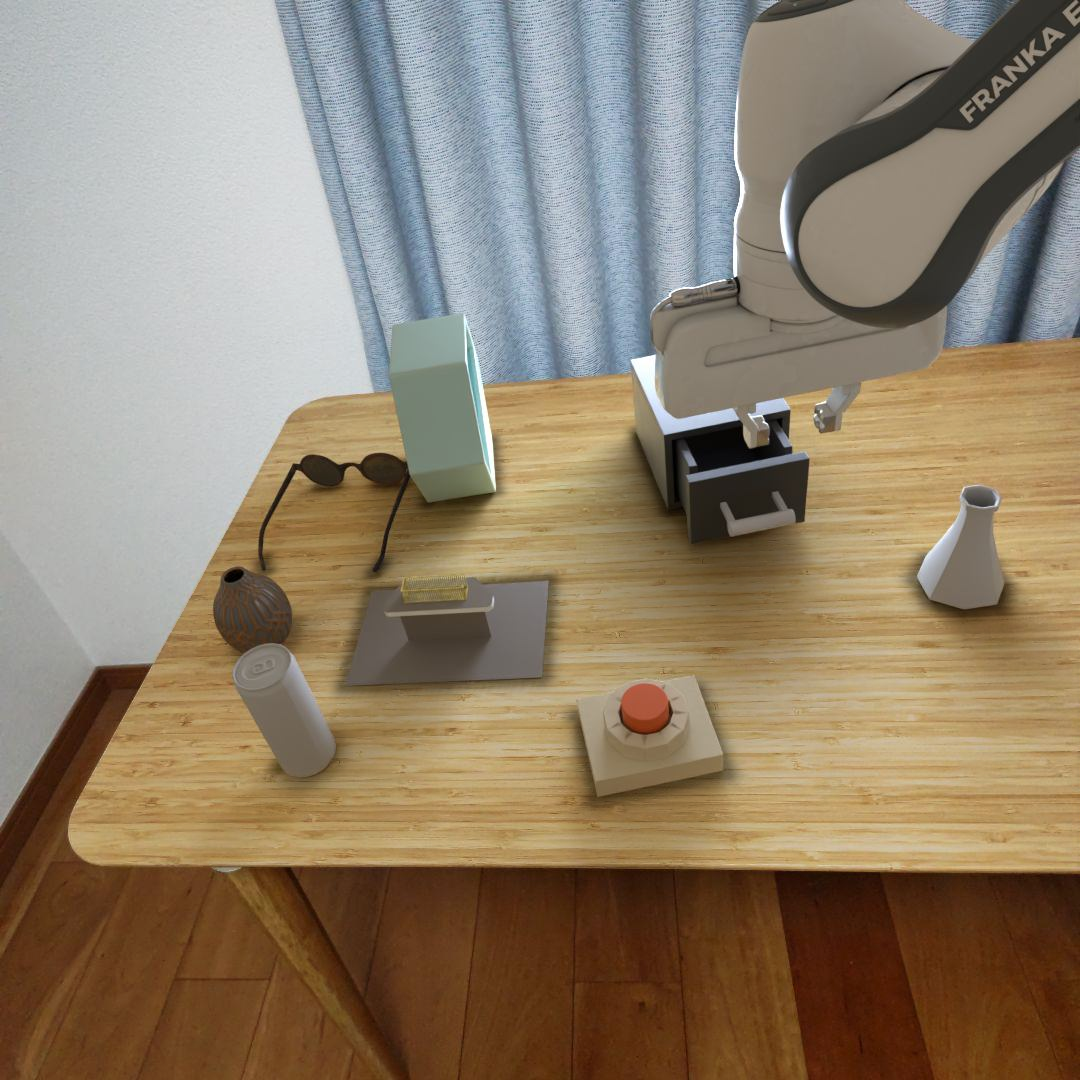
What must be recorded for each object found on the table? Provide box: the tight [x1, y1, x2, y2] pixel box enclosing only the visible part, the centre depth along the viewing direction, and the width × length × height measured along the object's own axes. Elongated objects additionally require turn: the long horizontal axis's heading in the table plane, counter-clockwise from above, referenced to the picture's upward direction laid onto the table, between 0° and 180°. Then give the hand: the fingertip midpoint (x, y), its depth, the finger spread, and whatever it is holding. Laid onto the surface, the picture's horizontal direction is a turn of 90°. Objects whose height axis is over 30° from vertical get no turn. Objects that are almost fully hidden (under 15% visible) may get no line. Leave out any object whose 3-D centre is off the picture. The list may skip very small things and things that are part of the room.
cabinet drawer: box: [672, 419, 811, 545], centre depth 88 cm, size 18×11×8 cm, turn 9°
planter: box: [388, 312, 497, 503], centre depth 97 cm, size 17×8×21 cm
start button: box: [621, 683, 669, 734], centre depth 69 cm, size 4×4×2 cm
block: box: [575, 674, 724, 798], centre depth 71 cm, size 10×8×4 cm
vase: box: [212, 565, 293, 654], centre depth 84 cm, size 7×7×9 cm
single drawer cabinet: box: [629, 354, 792, 511], centre depth 95 cm, size 15×13×10 cm
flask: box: [916, 484, 1005, 610], centre depth 77 cm, size 7×7×10 cm
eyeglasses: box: [257, 452, 411, 574], centre depth 97 cm, size 15×15×5 cm
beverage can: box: [232, 643, 337, 778], centre depth 72 cm, size 5×5×12 cm
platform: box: [345, 573, 550, 687], centre depth 82 cm, size 12×18×7 cm, turn 87°
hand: (791, 435), depth 68 cm, fingers open, 4 cm apart
